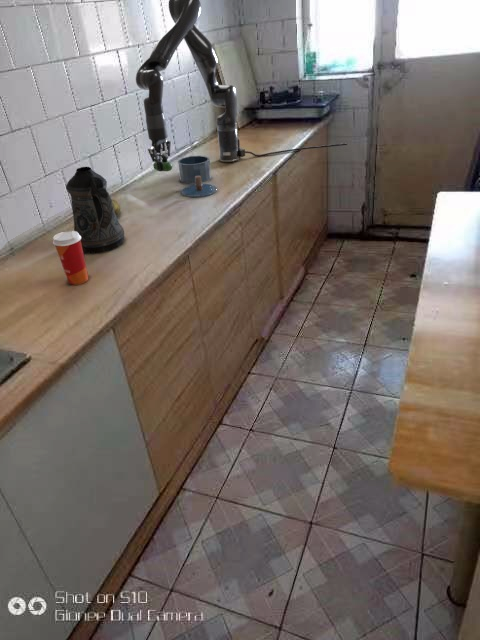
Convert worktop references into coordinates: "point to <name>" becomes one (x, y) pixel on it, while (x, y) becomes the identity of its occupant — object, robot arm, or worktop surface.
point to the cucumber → (164, 166)
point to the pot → (194, 168)
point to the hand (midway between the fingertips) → (163, 169)
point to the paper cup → (71, 256)
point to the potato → (116, 207)
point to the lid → (199, 189)
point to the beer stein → (94, 212)
